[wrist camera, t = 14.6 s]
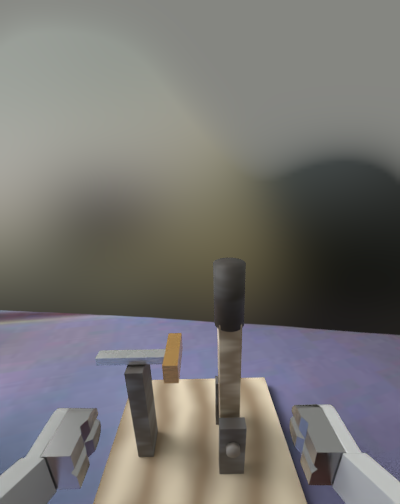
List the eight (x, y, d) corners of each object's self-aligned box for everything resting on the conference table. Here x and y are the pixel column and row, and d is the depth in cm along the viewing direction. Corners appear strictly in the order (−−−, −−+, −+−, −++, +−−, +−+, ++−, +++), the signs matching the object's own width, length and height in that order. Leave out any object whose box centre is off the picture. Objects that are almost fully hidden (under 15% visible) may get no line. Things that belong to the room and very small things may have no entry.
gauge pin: (89, 385, 23) (85, 367, 22) (108, 350, 27) (105, 334, 27) (178, 383, 23) (177, 365, 22) (182, 348, 27) (181, 333, 27)
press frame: (75, 580, 20) (30, 474, 15) (135, 388, 39) (123, 314, 34) (324, 575, 20) (359, 467, 15) (263, 385, 39) (270, 310, 34)
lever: (217, 435, 26) (214, 269, 20) (215, 409, 29) (212, 258, 23) (243, 434, 26) (248, 268, 20) (238, 408, 29) (242, 257, 23)
